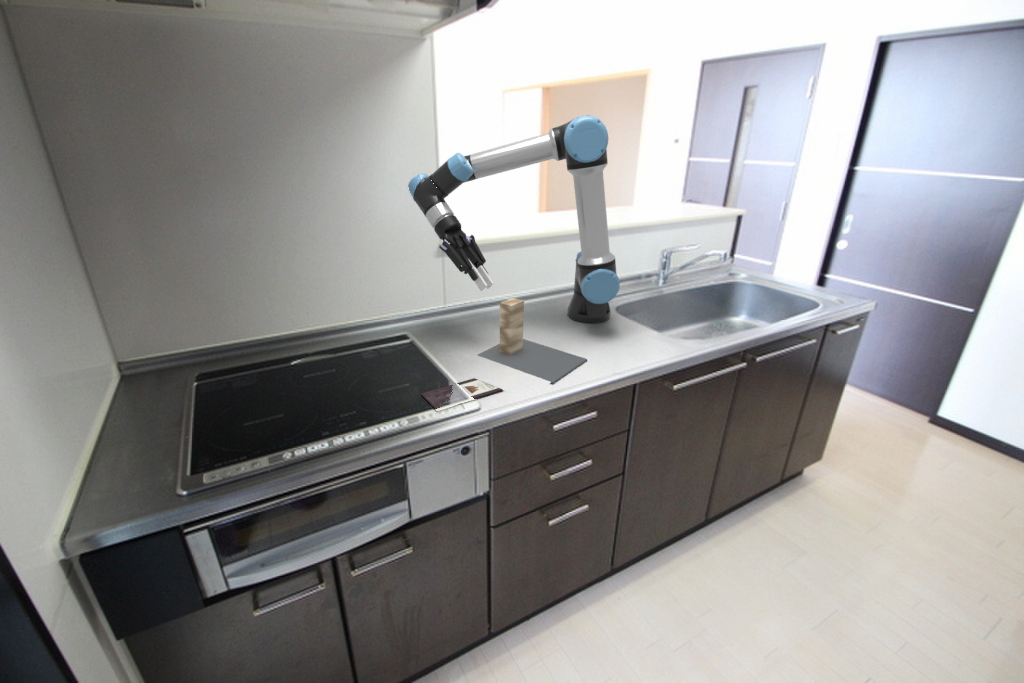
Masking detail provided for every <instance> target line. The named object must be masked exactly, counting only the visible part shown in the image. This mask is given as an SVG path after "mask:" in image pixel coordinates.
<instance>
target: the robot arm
mask: <svg viewBox="0 0 1024 683" xmlns="http://www.w3.org/2000/svg"><path fill="white" fill-rule="evenodd" d="M608 144H609V132H608V128H607V127H606V125H605V124H604V122H603V121H601V119H600V118H598V117H596V116H594V115H589V114H586V115H585V114H584V115H581V116H577V117H575V118H573V119H571V120H570V121H567V122H566V123H564V124H561V125H559V126H556V127H552V128H551V127H550V129H549V131H548V132H547V133H543V134H540V135H536V136H532V137H529V138H525V139H522V140H519V141H514V142H511V143H508V144H507V143H506V144H504V145H500V146H497V147H493V148H489V149H486V150H481V151H478V152H475V153H472V154H471V153H470V154H468V155H463V154H462V153H460V152H456V153H454V154H453V155H452V156H450V157H449V158H447V160H446V161H445V162H444V163H443V164H442V165H440V166H439V167H438V168H437V169H436V170H435V171H434V172H433V173H432V174H430V175H428V174H427V173H423V172H422V173H418V174H417V175H416V176H413V177H412V178H411V179H410V181H408V185H407V188H408V187H409V190H408V192H409V191H410V192H409V194H410V195H411V197H412V199H413V201H414V202H415V203H416V205H417V206H418V208H419V209H420V211H421V212H422V213H423V215H424V217H425V218H426V219H427V221H428V223H429V224H430V226H431V227H432V228H433V230H434V232H435V234H436V235H437V237H438V238H439V239H440V240H441V241H442V243H440V245H439V246H438V247H439V249H440V250H441V251H442V252H443V253H445V255H446V256H447V257H448V258H449V259H450V261H451V262H452V263H453V265H454V266H455V267H456V268H457V269H458V271H459V272H461V273H463V274H465V275H468V277H470V279H471V281H473V282H474V283H475V284H476V286H477V288H478V289H479V291H480V292H482V291H484V290H485V289H486V290H487V289H490V288H491V287H492V286H493V285H494V283H495V282H494V281H493V280H492V278H491V276H490V275H489V272H488V271H487V269H486V268H485V267H484V264H485V263H486V262H487V261H486V258H485V257H484V255H483V252H482V251H481V249H480V247H479V246H478V243H477V242H476V238H475V236H474V235H473V234H471V235H470V236H469V235H467V234H466V233H465V232H464V231H463V230H462V223H461V222H460V221H459V220H458V217H457V216H456V215H455V213H454V212H453V210H452V209H451V207H450V205H449V204H448V203H447V201H446V200H445V199H446V198H447V197H448V196H449V195H450V194H452V193H453V192H454V191H455V190H457V189H458V188H459V187H460V186H462V184H465V183H468V182H473V181H475V180H479V179H481V178H486V177H489V176H493V175H494V176H495V175H498V174H500V173H501V174H502V173H504V172H508V171H512V170H516V169H519V168H524V167H527V166H531V165H536V164H539V163H542V162H546V161H550V160H555V161H556V162H559V161H563V160H565V162H566V170H567V172H569V174H571V175H572V176H573V177H572V178H573V179H572V180H573V188H574V194H575V195H574V196H575V204H576V206H575V207H576V215H577V224H578V233H579V234H578V235H579V242H580V251H579V252H577V254H576V259H575V274H574V286H573V294H572V297H571V299H570V302H569V305H568V307H567V313H566V315H567V317H568V316H569V317H568V318H570V319H571V320H573V321H576V320H577V322H581V323H586V324H587V323H588V324H599V323H603V322H607V321H608V320H610V318H611V308H610V302H611V301H613V299H615V297H616V296H617V295H618V294H619V291H620V284H621V283H620V282H621V281H620V279H619V276H618V274H617V265H616V264H617V263H616V256H615V255H614V254H613V253H612V252H611V251H610V241H609V240H610V238H609V230H608V229H609V228H608V218H607V217H608V215H607V204H606V192H605V183H604V182H605V181H604V170H605V168H606V167H607V165H609V164H608V162H609V161H608V149H607V148H608ZM431 180H432V181H431ZM433 183H434V184H433ZM436 187H437V188H436Z"/></svg>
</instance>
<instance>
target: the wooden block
mask: <svg viewBox="0 0 1024 683" xmlns="http://www.w3.org/2000/svg"><path fill="white" fill-rule="evenodd" d="M524 311H525V300H523V299H518V298H515V297H511V298H509V299H506V300H503V301H501V302H500V303H499V344H500V348H499V352H502V353H505V354H508V355H512V354H514V353H515V352H517V351H519V350H521V349H523V339H524V316H525V315H524V313H525V312H524Z"/></svg>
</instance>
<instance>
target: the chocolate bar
mask: <svg viewBox="0 0 1024 683" xmlns="http://www.w3.org/2000/svg"><path fill="white" fill-rule="evenodd" d="M457 384H459V385H460V386H461V387H462V388H463V389H464V390H465V391H466V392H467V393H468V394H469V395H470V396H471V397H473V398H474V399H477V400H480V399H483V398H486V397H489V396H494V395H496V394H500V393H503V392H504V390H503V389H502V388H500V387H498V386H495V385H493V384H491V383H488V382H485V381H482V380H480V379H477V378H475V377H474V378H471V379H467V380H464V381H460V382H457ZM452 386H453V385H452V384H450V385H446V386H442V387H439V388H435V389H432V390H427V391H425V392H422V393H420V395H422V396H423V397H424V398H425V399H426V400H427V401H428V402H429V403H430V404H431V405H432V406H433V407H434V408H435V409H437V407H438V408H440V407H439V406H441V407H442V405H443V404H445V403H444V402H446V401H445V400H447V402H448V400H450V399H449V398H450V397H451V395H452V393H453V392H452V390H453V389H452ZM451 392H452V393H451ZM422 396H421V397H422ZM423 397H422V398H423ZM424 398H423V399H424ZM446 398H447V399H446ZM425 399H424V400H425ZM426 400H425V401H426ZM427 401H426V402H427ZM428 402H427V403H428ZM429 403H428V404H429ZM442 403H443V404H442ZM430 404H429V405H430ZM431 405H430V406H431ZM432 406H431V407H432ZM433 407H432V408H433ZM434 408H433V409H434ZM435 409H434V410H435Z"/></svg>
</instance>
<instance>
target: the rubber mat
mask: <svg viewBox="0 0 1024 683" xmlns="http://www.w3.org/2000/svg"><path fill="white" fill-rule="evenodd" d="M499 348H500V343H498V344H496V345H494V346H492V347H490V348H488V349H486V350H484V351H482V352H480V353H478V354H477V356H478V357H481V358H484V359H487V360H489V361H493V362H495V363H498V364H500V365H503V366H506V367H509V368H512V369H514V370H516V371H520V372H523V373H525V374H528V375H530V376H534V377H537V378H538V379H539V378H540V379H542V380H545V381H548V382H549V383H551V385H555V382H556V383H557V382H559V381H560V380H561V378H563V379H564V377H566V376H567V375H569V374H570V373H572V372H573V371H575V370H576V369H577V367H578V368H579V367H581V365H583V364H585V363H586V362H588V358H586V357H582V356H579V355H576V354H573V353H569V352H566V351H563V350H559V349H556V348H553V347H550V346H548V345H544V344H540V343H539V342H535V341H530V340H528V339H526V338H523V349H521V350H519V351H517V352H515V353H514V354H512V355H508V354H505V353H502V352H499ZM574 369H575V370H574ZM568 373H569V374H568ZM558 380H559V381H558Z"/></svg>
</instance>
